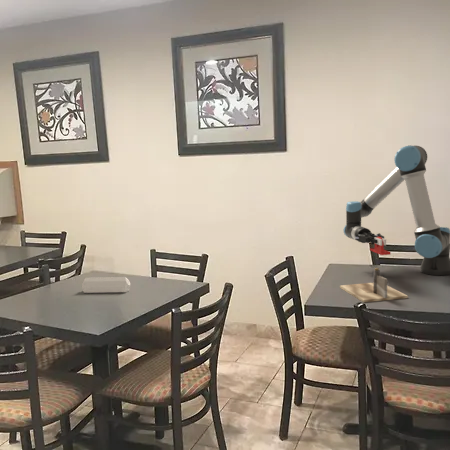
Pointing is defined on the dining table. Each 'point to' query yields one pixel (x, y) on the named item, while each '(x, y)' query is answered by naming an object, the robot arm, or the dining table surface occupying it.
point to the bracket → (380, 249)
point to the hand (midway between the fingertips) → (383, 242)
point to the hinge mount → (373, 290)
